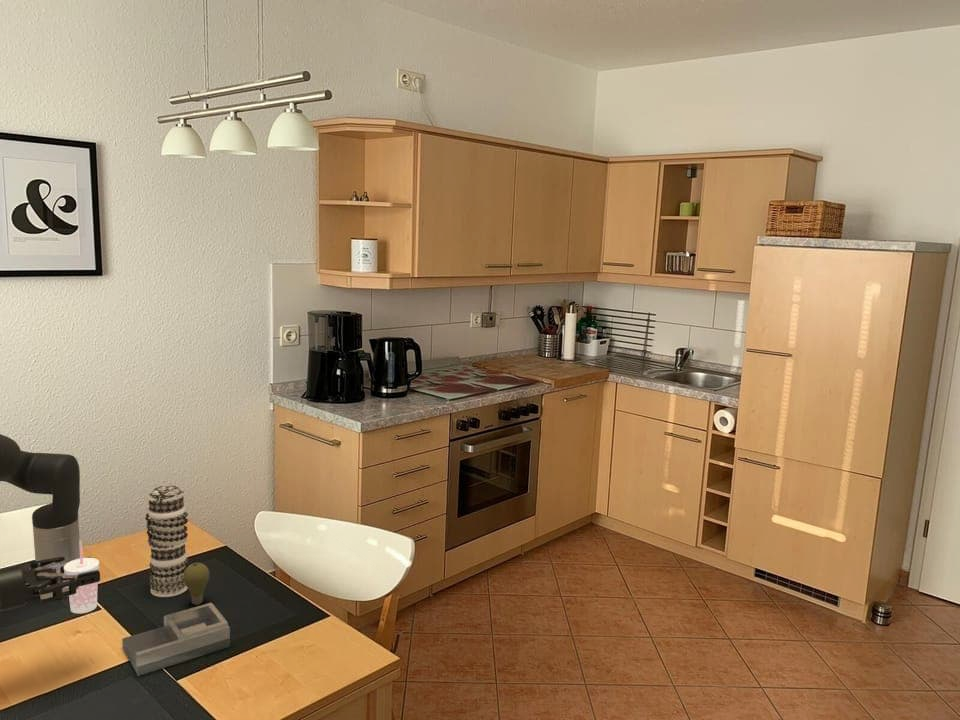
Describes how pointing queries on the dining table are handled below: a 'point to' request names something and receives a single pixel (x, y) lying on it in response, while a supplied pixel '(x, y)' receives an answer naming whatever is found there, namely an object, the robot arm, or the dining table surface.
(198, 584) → the light bulb
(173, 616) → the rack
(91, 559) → the beverage cup
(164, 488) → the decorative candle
